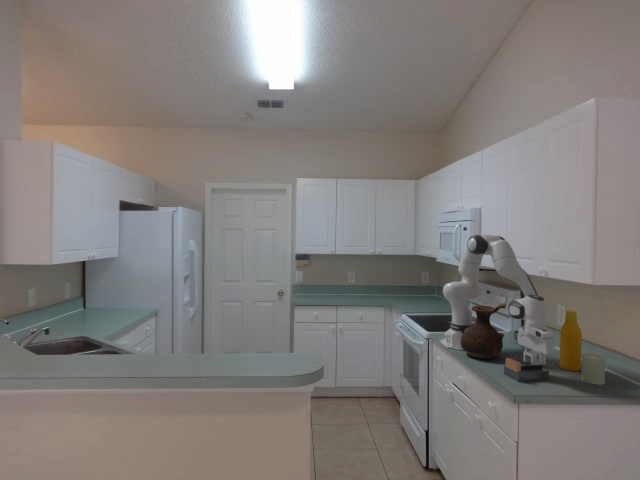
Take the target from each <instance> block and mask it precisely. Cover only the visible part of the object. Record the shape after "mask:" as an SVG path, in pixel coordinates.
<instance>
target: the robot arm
mask: <svg viewBox="0 0 640 480" xmlns="http://www.w3.org/2000/svg"><path fill="white" fill-rule="evenodd" d="M489 255H490V257H491V259H492V263H493V267H494V269H495V271H496V272H497V274H498V275H499V276H501V277H503V278H505V279H508V280H509V281H510V280H511V281H513V282H515V283H516V284H517V285H518V286H519V288H520V290H521V291H522V293H523V296H524V297H522V298H519V299H514V300H511V301H510V302H509V303H508V307H507V311H508V312H507V313H508V314H509V316H511V318H513V319H515V320H524V325H521V326H520V327H519V329H518V331H519V332H518V337H517V340H516V341H517V342H518V344H517V345H522V346H524V349H525V350H524V349H523V350H524V351H526V350H529V349H532V350H535V351H537V352H539V355H540V357H538V361H539V362H543V358H544V357H545V355H546V356H552V355H554V354H555V349H556V348H555V346H556V345H555V340H554V339H555V333H554V332H553V331H551V330H550V329H549V328H548V327H547V323H546V317H547V303H546V300H545V298H544V297H543V296H540V295H539V294H538V292H537V290H536V288H535V286H534V284H533V281H532V280H531V278H530V277H529V276H530V275H529V274H528V273H527V272H526V270H525V269H523V268H522V266H521V265H520V262H518V260H517V257H516V255H515V252H514V250H513V248H512V245H511V244H510V243H509V242H508V241H507V240H506V239H505V238H504V237H503V236H500V235H497V234H496V235H493V234H474V235H470V236H469V238H468V239H467V242H466V244H465V247H464V249H463V251H462V254H461V258H460V261H459V265H458V267H457V269H458V271H457V272H458V273H459V274H460V275H461V281H451V282H448V283H446V284H444V286H443V288H442V294H443V297H444V298H445V299H446V300H447V301H448V303H449V304H450V308H451V322H450V324H449V325H450V328H449V329H447V331H445V332H444V334H443V338H442V339H440V340H439V342H440V343H441V344H442V346H444V347H445V348H447V349H453V350H459V351H465V350H464V349H463V348H462V346H461V337H462V335H463V333H464V332H465V331H466V330H467V329H468V328H469V327H470V326H471V325H473V324H474V323H473V310H472V309H471V307H468V305H467V301H468V300H471V301H472V300H475V299H478V298H480V297H481V296H482V294H483V287H482V285H481V283H480V282H479V272H480V267H481V264H482V260H483V257H484V256H489Z"/></svg>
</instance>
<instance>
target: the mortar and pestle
mask: <svg viewBox="0 0 640 480" xmlns="http://www.w3.org/2000/svg"><path fill="white" fill-rule="evenodd" d="M518 332H519V330H514V331H512V334H513V337H514V339H515V341H516V342H515V343H516V344H517V345H519V344H518V342H517V337H518Z"/></svg>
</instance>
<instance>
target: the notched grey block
mask: <svg viewBox="0 0 640 480" xmlns="http://www.w3.org/2000/svg"><path fill="white" fill-rule="evenodd" d="M538 357H540V355H539V352H537V351H535V350H526V351H525V350H523V360H522V361H523V362H524V363H525V362H530V364H531V365H547V355H545V357H544V358H543V362H539V361H538Z"/></svg>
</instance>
